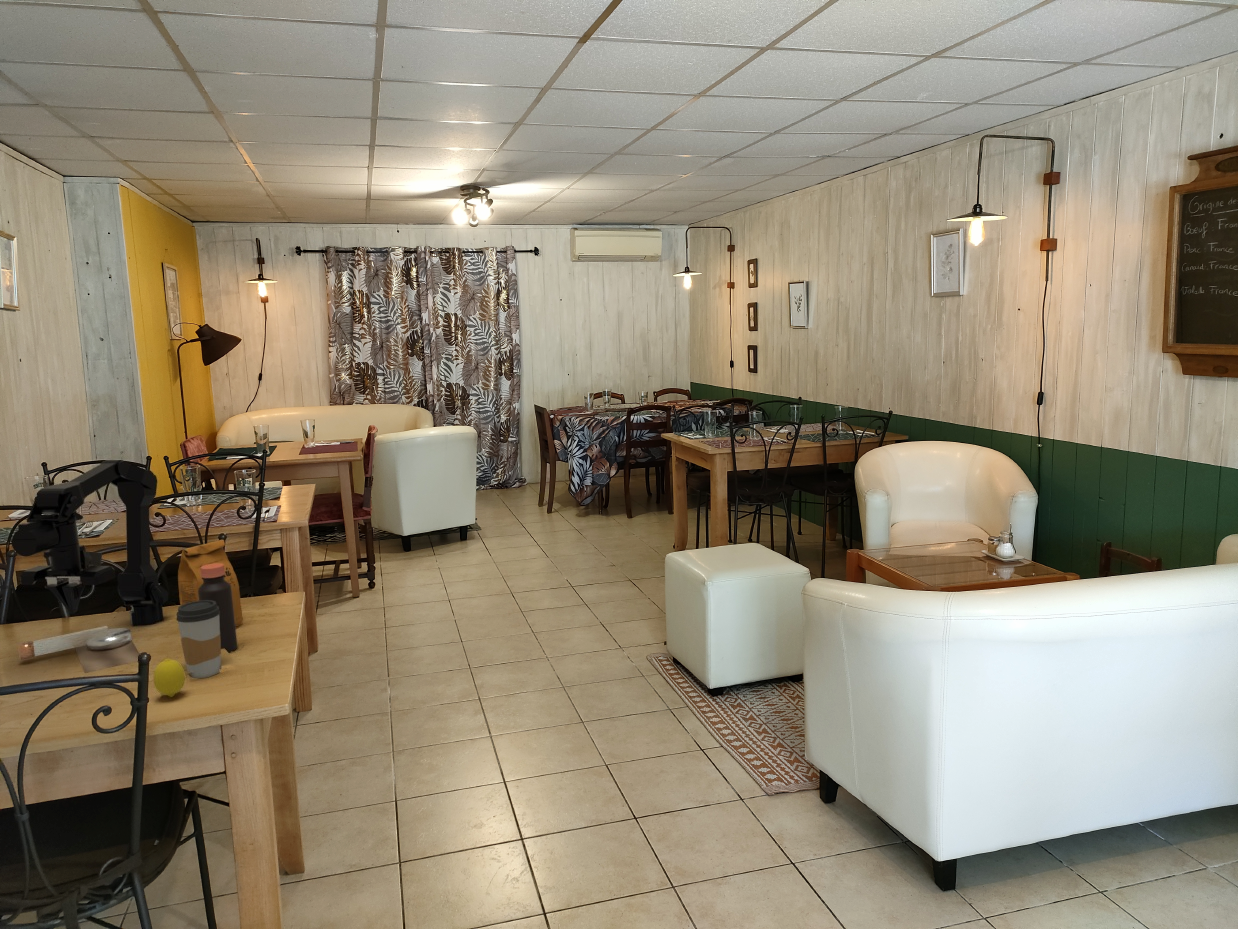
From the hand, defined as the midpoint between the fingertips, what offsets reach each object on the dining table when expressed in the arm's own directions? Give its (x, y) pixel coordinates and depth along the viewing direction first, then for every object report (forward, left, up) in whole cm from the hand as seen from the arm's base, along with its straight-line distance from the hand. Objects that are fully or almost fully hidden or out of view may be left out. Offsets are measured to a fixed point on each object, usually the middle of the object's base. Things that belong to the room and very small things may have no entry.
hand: (73, 612), depth 187 cm
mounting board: (-5, 0, -12) cm, 13 cm away
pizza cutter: (0, -4, -10) cm, 11 cm away
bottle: (-26, +14, -12) cm, 32 cm away
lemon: (-12, +35, -12) cm, 39 cm away
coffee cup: (-20, +26, -12) cm, 35 cm away
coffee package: (-28, -2, -12) cm, 31 cm away
